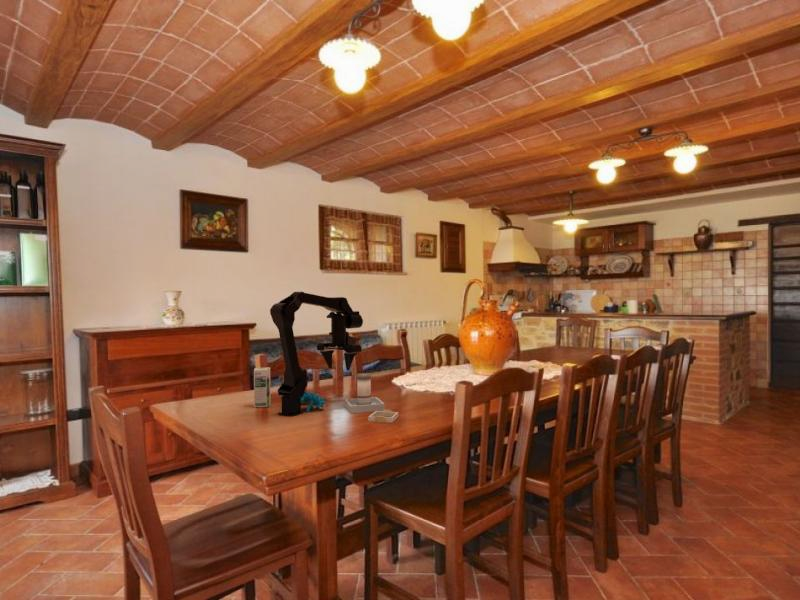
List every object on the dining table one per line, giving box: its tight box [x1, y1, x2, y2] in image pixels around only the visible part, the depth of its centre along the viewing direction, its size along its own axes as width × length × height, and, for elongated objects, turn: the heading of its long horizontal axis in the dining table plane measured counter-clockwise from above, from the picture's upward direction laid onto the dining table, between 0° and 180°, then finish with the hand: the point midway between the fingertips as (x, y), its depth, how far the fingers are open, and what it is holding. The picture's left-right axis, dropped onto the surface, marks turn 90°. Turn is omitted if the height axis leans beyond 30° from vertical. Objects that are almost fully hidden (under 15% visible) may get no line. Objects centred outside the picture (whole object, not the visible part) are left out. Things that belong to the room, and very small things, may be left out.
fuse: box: [356, 372, 372, 405], centre depth 174 cm, size 5×5×12 cm
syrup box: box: [253, 366, 271, 409], centre depth 179 cm, size 6×6×14 cm
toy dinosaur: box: [300, 390, 326, 413], centre depth 171 cm, size 11×6×10 cm
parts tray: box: [343, 396, 386, 414], centre depth 174 cm, size 13×13×2 cm
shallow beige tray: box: [367, 409, 399, 424], centre depth 158 cm, size 8×10×2 cm
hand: (339, 369), depth 182 cm, fingers open, 9 cm apart
